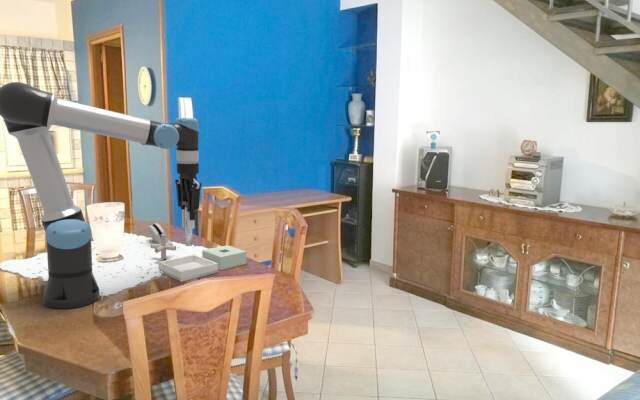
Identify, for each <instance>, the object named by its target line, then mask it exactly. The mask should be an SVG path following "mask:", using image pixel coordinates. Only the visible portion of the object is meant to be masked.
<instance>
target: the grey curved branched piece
mask: <svg viewBox="0 0 640 400" xmlns="http://www.w3.org/2000/svg"><path fill="white" fill-rule="evenodd" d="M147 228H148V231H149V233H150V236H151V237H152V240H153V241H154V242H155V244H161V234H166V232H165V230H164V228H163V227H162V226H161V225H160V224H159V223H158V222H155V223H153V224H150V225H149V226H148V227H147ZM168 242H171V241H170V240H169V239H168V237H167V236H166V243H168ZM172 246H174V245H173V243H172Z"/></svg>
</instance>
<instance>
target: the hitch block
mask: <svg viewBox="0 0 640 400" xmlns="http://www.w3.org/2000/svg"><path fill="white" fill-rule="evenodd" d="M201 252H202V253H201V257H203V258H205V259H208V260H210V261H213V262H215V263H218V271H223V270H227V269H232V268H235V267H240V266H243V265H244V266H245V265H247V250H243V249H241V248H237V247H234V246H231V245H229V244H227V245H222V246H217V247H216V246H215V247H212V248H208V249H207V248H206V249H202V251H201Z"/></svg>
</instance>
